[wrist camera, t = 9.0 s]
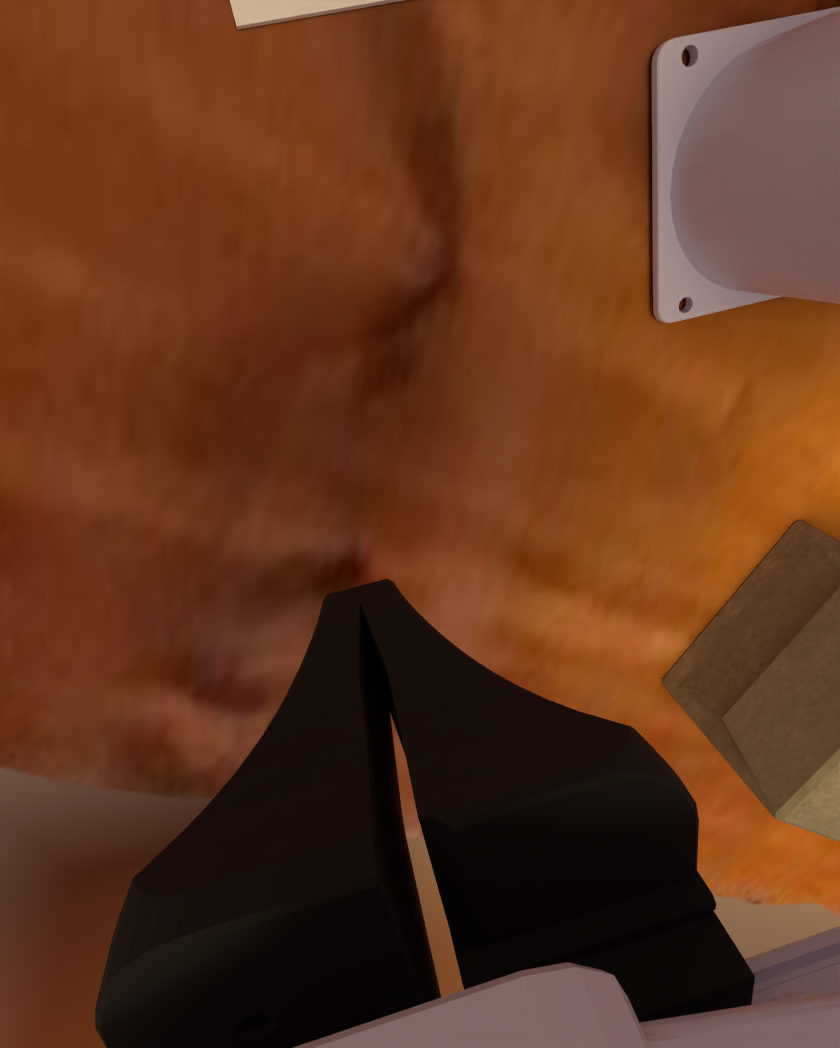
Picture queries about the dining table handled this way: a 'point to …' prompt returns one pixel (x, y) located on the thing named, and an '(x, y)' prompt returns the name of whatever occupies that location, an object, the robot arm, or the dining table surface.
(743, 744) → the tissue box
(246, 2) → the beige mat
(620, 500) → the dining table surface
